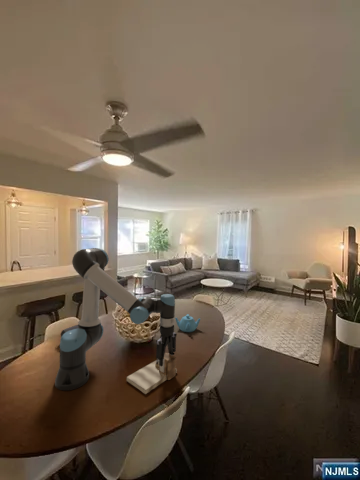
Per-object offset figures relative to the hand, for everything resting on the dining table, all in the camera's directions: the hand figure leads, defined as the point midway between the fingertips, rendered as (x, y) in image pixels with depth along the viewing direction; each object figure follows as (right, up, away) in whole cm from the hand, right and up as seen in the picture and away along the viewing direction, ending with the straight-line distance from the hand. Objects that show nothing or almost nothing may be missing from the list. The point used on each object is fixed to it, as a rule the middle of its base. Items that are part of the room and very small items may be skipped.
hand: (165, 368), depth 117 cm
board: (-7, -3, -2) cm, 8 cm away
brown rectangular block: (-1, -3, +1) cm, 3 cm away
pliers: (-14, -3, +45) cm, 47 cm away
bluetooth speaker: (-61, -1, +38) cm, 72 cm away
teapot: (+13, -3, +59) cm, 61 cm away
